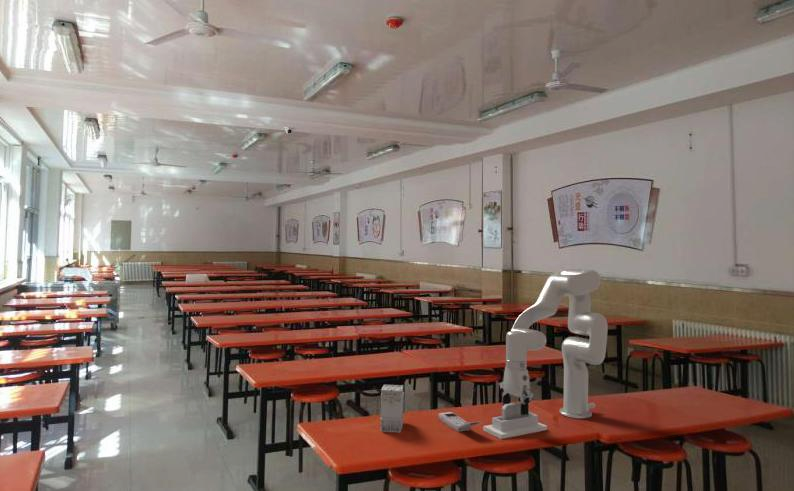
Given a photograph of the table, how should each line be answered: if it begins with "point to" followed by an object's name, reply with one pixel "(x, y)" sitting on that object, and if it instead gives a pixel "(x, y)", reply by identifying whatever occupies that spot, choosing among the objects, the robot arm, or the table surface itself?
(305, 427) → the table surface
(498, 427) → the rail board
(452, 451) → the table surface
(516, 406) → the grey flat plate
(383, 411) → the circuit breaker
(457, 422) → the mobile phone
